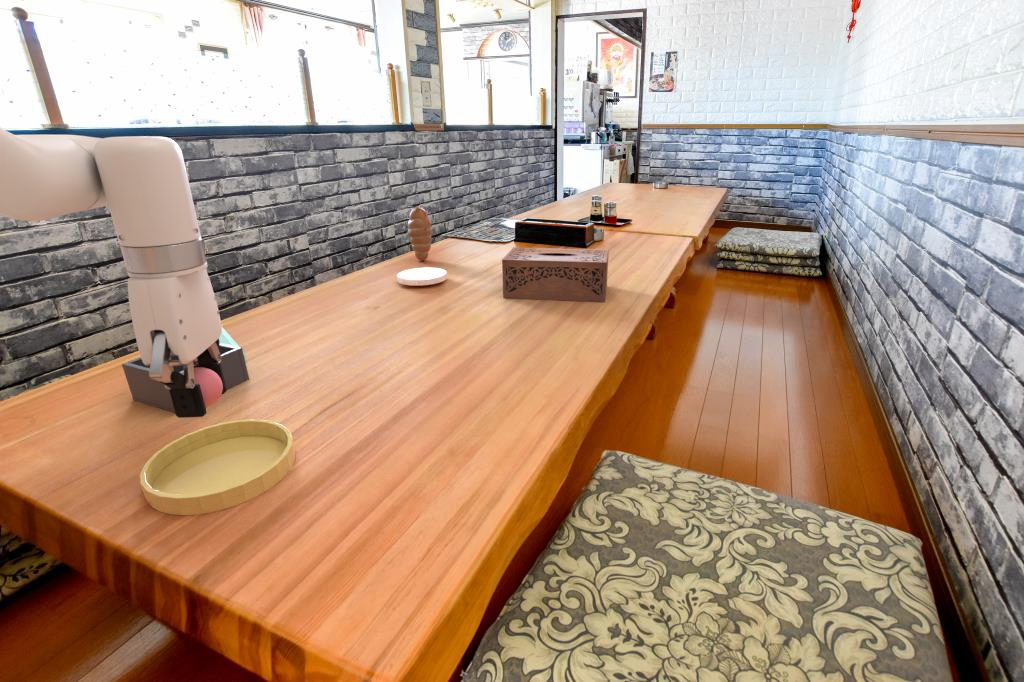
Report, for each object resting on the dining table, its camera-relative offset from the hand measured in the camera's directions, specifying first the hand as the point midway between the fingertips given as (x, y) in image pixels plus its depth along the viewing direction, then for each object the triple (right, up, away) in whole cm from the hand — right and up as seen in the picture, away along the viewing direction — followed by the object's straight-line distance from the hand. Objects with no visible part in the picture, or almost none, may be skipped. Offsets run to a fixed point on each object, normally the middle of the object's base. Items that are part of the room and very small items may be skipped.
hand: (202, 403), depth 64 cm
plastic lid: (+12, +24, +87) cm, 91 cm away
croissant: (+8, +34, +111) cm, 117 cm away
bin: (-17, -1, +26) cm, 31 cm away
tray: (+1, -10, +4) cm, 10 cm away
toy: (0, 0, 0) cm, 1 cm away
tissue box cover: (+49, +20, +75) cm, 93 cm away
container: (-21, +5, +42) cm, 47 cm away
